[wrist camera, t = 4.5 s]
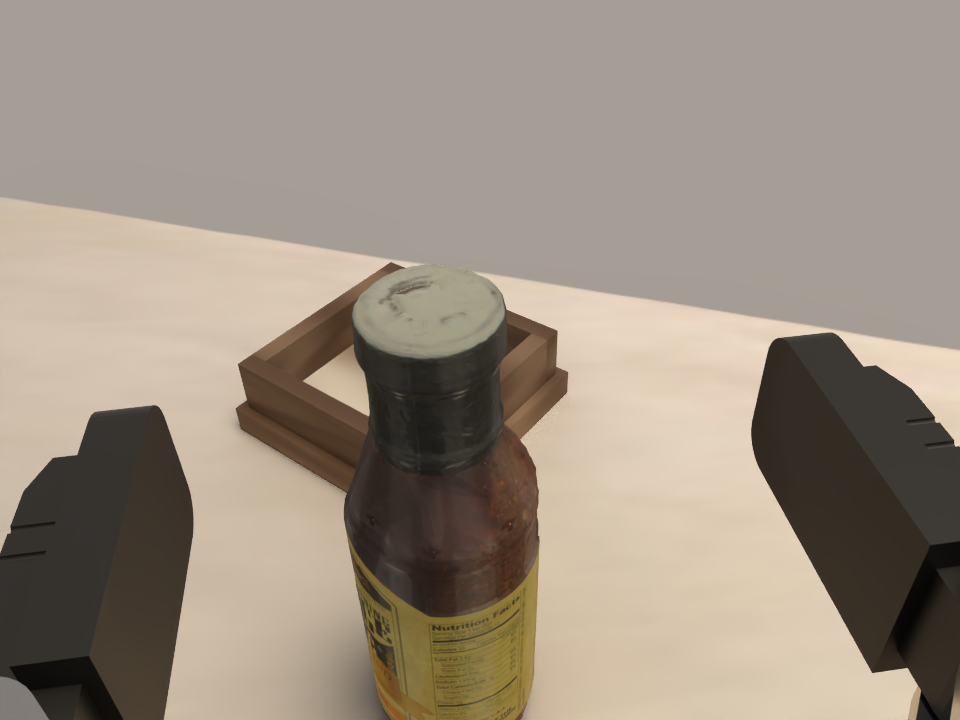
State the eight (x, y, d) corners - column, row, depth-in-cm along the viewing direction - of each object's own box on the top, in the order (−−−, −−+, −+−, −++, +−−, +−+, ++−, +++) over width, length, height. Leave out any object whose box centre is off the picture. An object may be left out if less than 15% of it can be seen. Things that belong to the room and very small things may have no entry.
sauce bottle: (388, 627, 38) (326, 229, 25) (531, 627, 37) (541, 227, 25) (370, 778, 32) (283, 373, 20) (537, 779, 32) (553, 371, 20)
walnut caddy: (421, 537, 41) (414, 471, 39) (241, 428, 48) (224, 365, 45) (567, 392, 49) (570, 329, 47) (396, 315, 56) (390, 256, 53)
